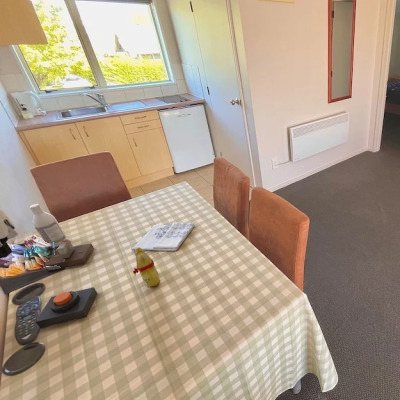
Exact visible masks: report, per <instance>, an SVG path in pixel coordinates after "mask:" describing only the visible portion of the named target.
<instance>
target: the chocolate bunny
mask: <svg viewBox="0 0 400 400" xmlns="http://www.w3.org/2000/svg"><path fill="white" fill-rule="evenodd" d="M145 251H146V250H143V249H141V248H140V247H138V248H136V250H134V254H135V263H136V267H134V268H133V271H132V274H134V276H136V275H137V274H138V273H139V274H140V276H141V279H142V281H143V282H144V283H145V284H146V286H147V287H148V288H149V287H150V288H151V287H156V286H157V285H158V284H159V283H160V282H161V279H160V274H159V272H158V270H157V268H156V265H155V262H154V260H153V259H152V258H151V256H150V255H149V254H148V253H147V252H145Z"/></svg>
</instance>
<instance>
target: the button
mask: <svg viewBox="0 0 400 400" xmlns="http://www.w3.org/2000/svg"><path fill="white" fill-rule="evenodd" d="M55 296H56V297H55V298H54V300H53V301H54V302H55V304H56V305H58V306H60V305H63V304H65V303H67V302H69V301H70V300H71V299H72V296H71V294H70V293H69V291H64V292H61V293H59V294H56V295H55Z"/></svg>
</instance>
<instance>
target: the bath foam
mask: <svg viewBox="0 0 400 400" xmlns="http://www.w3.org/2000/svg"><path fill="white" fill-rule="evenodd" d="M29 209H30V211H31V212H32V214H33V217H32V221H31V222H32V226H33V227H34V229H35V231H36V232H37V233H38V235H39V236H40V238H41V239H42V241H43V240H44V241H45V242H47V243H52V242H55V243H57V244H59V245H60V244H61V243H62V241H63V240H69V238H68V236H67V234H66V233H65V231H64V230H63V228H62V226H61V225H60V223H59V222H58V220H57V219H56V217H55V216H54V215H52V214H51V213H49V212H46V211H44V210H43V208H42V207H41V205H40V204H39V203H35V204H31V205H29ZM44 241H43V242H44ZM45 242H44V243H45Z"/></svg>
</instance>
